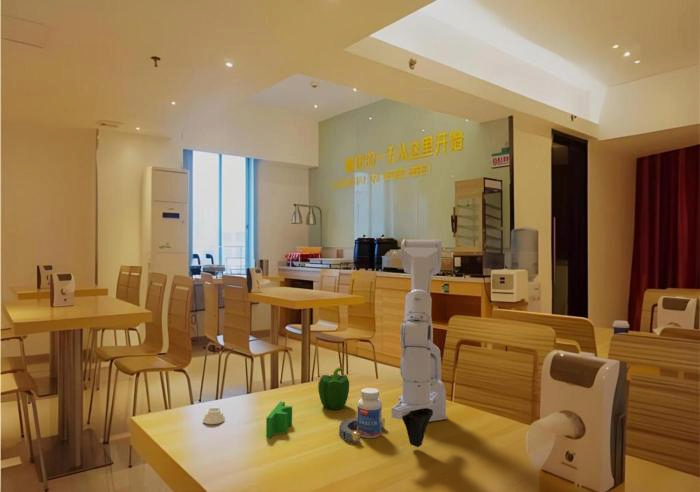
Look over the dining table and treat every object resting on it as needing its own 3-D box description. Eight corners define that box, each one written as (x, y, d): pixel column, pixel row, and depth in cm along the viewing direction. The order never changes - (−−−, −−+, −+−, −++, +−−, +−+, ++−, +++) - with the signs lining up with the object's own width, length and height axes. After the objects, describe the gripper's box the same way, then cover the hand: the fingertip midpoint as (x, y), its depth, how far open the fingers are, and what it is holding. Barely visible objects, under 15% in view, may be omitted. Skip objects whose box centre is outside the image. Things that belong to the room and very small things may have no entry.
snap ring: (386, 428, 107) (386, 419, 107) (356, 445, 98) (356, 434, 98) (359, 421, 111) (359, 411, 112) (328, 436, 102) (329, 426, 102)
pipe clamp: (282, 439, 101) (282, 418, 101) (266, 438, 101) (266, 417, 101) (295, 420, 112) (295, 401, 112) (280, 419, 112) (280, 401, 112)
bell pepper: (327, 414, 116) (327, 374, 116) (313, 404, 123) (313, 367, 123) (356, 409, 120) (356, 370, 120) (340, 400, 127) (341, 363, 127)
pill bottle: (356, 438, 101) (356, 393, 101) (358, 428, 107) (358, 386, 107) (381, 439, 101) (381, 394, 101) (382, 429, 106) (382, 387, 106)
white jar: (226, 423, 109) (222, 416, 114) (226, 411, 109) (222, 404, 114) (204, 427, 107) (201, 419, 112) (204, 414, 107) (201, 407, 112)
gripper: (419, 369, 104) (418, 429, 104) (379, 382, 93) (379, 450, 93) (447, 374, 99) (446, 438, 99) (408, 389, 88) (408, 460, 88)
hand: (415, 444), depth 96 cm, fingers closed
